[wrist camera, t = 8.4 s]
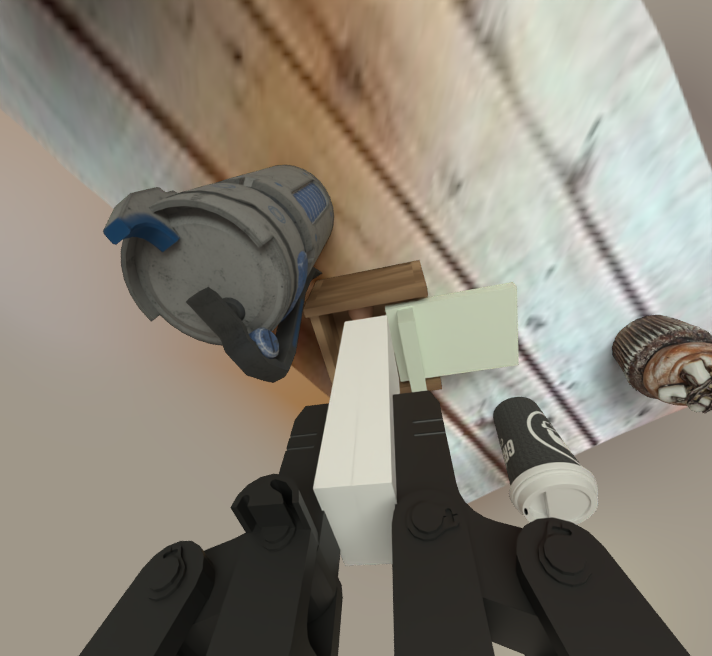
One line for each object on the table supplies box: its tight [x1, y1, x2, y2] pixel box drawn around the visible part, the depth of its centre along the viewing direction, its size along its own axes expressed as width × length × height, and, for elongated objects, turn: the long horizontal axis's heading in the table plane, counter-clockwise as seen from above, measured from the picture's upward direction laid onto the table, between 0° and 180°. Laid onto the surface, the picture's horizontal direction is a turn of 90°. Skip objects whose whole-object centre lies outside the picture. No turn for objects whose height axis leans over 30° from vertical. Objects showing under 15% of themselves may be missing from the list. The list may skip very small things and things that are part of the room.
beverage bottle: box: [103, 165, 334, 383], centre depth 30 cm, size 10×13×25 cm
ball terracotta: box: [348, 306, 374, 320], centre depth 43 cm, size 3×3×3 cm
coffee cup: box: [493, 397, 598, 524], centre depth 46 cm, size 10×10×15 cm
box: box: [303, 260, 442, 394], centre depth 42 cm, size 13×13×8 cm
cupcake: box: [612, 315, 712, 413], centre depth 41 cm, size 10×10×10 cm
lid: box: [385, 282, 519, 392], centre depth 37 cm, size 9×13×4 cm
